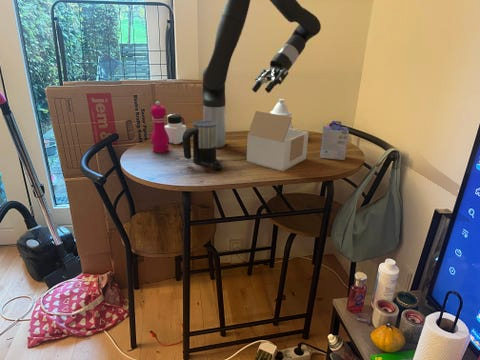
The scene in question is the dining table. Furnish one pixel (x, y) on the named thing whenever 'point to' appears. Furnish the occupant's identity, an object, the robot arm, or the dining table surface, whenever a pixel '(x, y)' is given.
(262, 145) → the carton
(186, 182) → the dining table surface
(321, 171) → the dining table surface
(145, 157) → the dining table surface
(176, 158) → the dining table surface
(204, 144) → the milk frother
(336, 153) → the ink cartridge box
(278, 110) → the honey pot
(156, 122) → the pepper mill
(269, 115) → the front flap
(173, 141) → the medicine bottle
